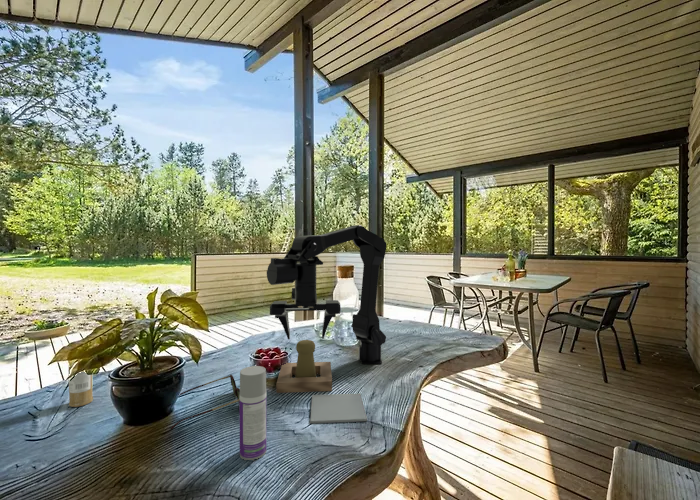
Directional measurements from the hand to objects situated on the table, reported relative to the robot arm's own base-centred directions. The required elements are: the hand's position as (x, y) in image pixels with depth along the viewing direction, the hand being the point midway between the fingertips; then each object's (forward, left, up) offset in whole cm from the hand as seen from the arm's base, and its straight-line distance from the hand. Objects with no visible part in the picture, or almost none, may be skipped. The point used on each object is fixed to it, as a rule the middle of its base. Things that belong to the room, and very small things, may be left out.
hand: (305, 338), depth 92 cm
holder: (0, 0, -12) cm, 12 cm away
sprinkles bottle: (+52, +9, -12) cm, 54 cm away
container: (+8, +31, -12) cm, 34 cm away
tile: (-8, +16, -12) cm, 21 cm away
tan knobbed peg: (0, 0, -12) cm, 12 cm away
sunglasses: (+22, +14, -12) cm, 29 cm away
